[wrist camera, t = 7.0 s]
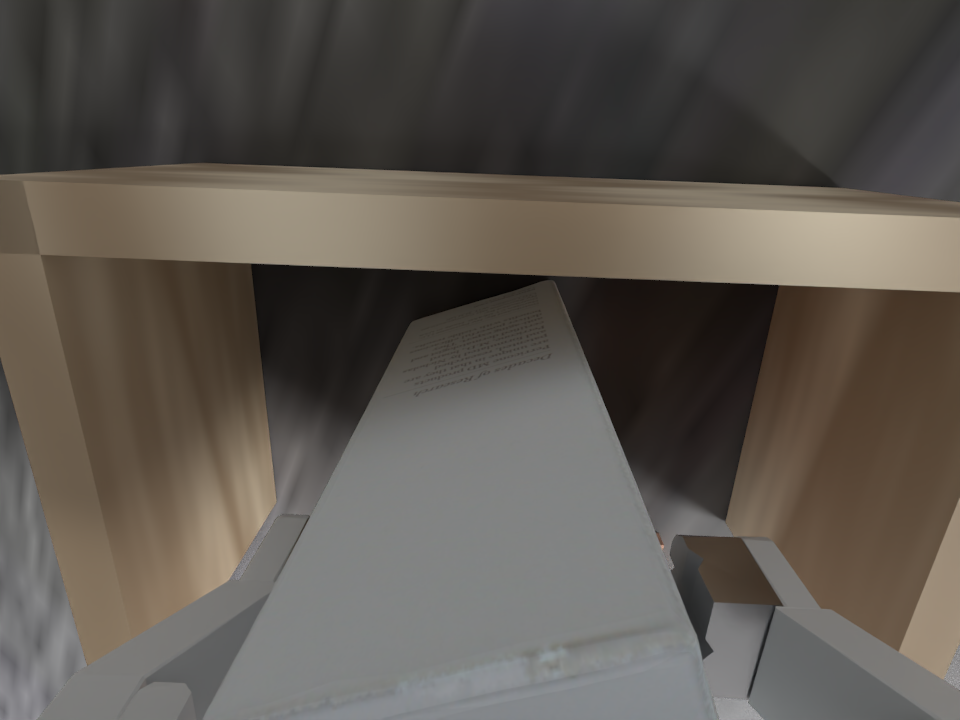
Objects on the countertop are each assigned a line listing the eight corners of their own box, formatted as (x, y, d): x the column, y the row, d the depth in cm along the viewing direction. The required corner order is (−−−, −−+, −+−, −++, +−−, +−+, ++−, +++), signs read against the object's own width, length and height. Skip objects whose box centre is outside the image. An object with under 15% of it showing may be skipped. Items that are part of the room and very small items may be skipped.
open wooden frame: (842, 188, 14) (1144, 224, 8) (757, 523, 18) (913, 747, 11) (200, 162, 14) (-51, 177, 8) (244, 500, 18) (98, 707, 11)
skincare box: (611, 460, 17) (823, 1081, 6) (474, 495, 18) (426, 1118, 6) (556, 267, 15) (717, 644, 4) (404, 314, 16) (152, 759, 4)
